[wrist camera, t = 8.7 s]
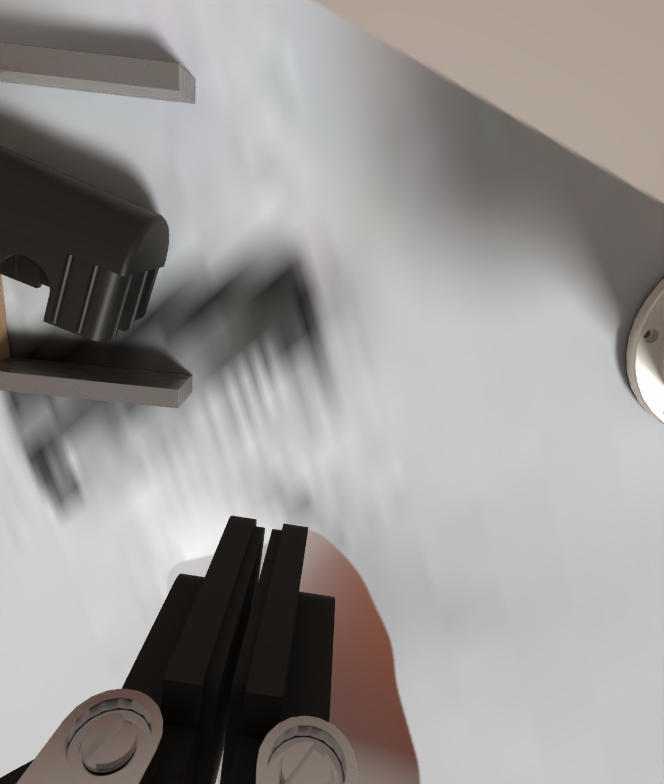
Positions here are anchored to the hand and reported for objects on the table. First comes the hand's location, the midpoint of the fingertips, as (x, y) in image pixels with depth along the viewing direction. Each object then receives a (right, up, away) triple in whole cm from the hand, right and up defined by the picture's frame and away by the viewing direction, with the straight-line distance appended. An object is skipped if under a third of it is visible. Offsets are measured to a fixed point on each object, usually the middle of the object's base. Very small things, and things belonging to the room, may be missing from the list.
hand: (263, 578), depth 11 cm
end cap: (-13, +13, +20) cm, 28 cm away
